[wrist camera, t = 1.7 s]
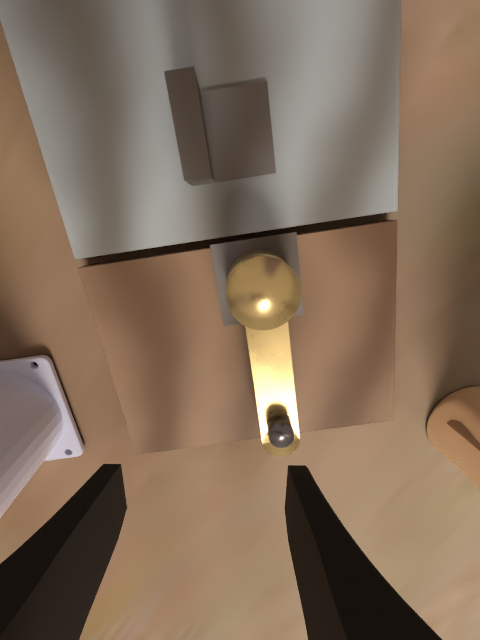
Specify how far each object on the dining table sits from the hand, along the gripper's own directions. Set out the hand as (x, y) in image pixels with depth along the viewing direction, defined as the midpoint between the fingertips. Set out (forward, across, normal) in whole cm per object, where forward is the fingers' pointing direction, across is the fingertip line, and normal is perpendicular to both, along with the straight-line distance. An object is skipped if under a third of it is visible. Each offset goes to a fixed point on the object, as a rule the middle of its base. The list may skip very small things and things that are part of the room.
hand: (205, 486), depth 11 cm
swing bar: (+9, -3, -1) cm, 9 cm away
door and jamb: (+10, -1, -7) cm, 13 cm away
